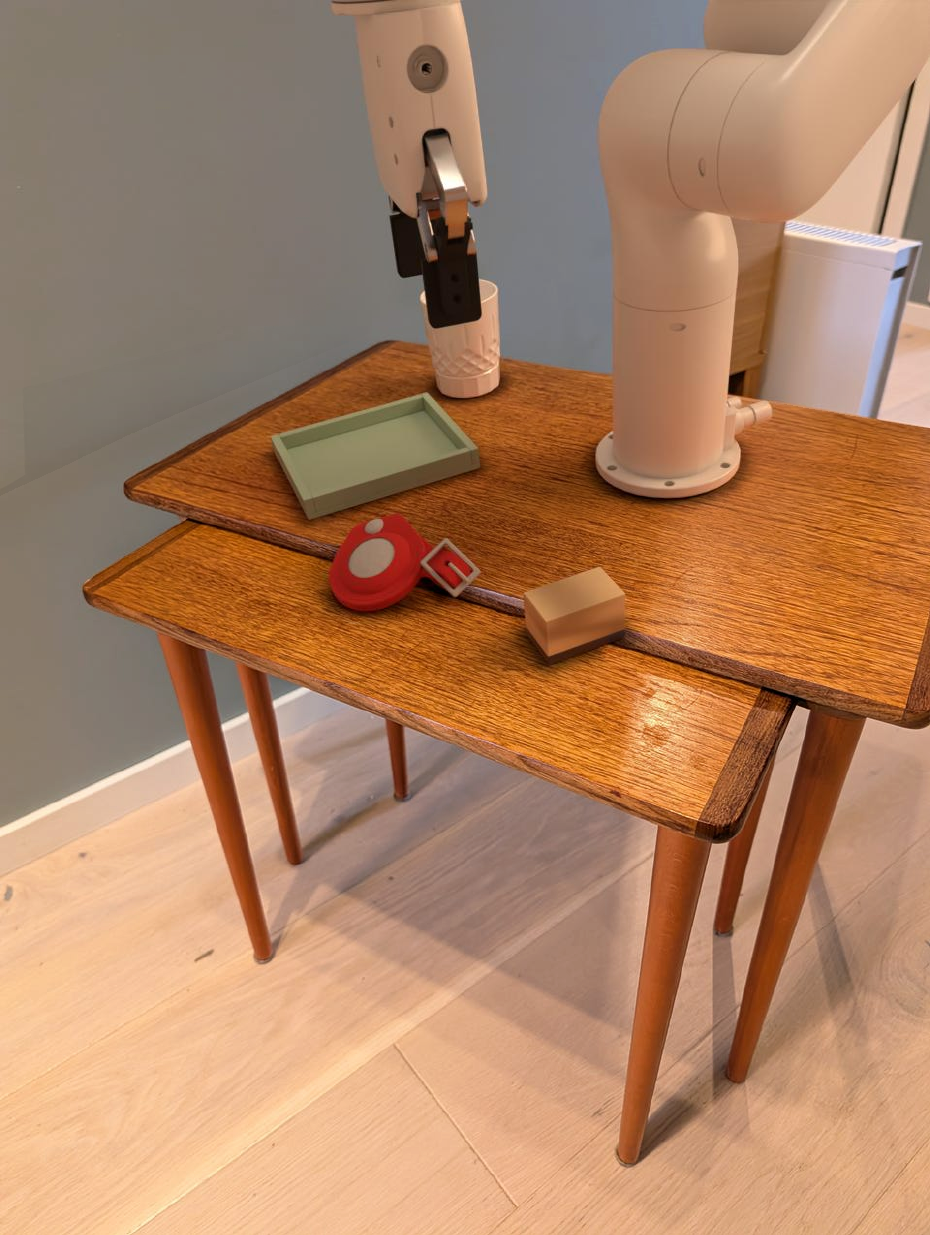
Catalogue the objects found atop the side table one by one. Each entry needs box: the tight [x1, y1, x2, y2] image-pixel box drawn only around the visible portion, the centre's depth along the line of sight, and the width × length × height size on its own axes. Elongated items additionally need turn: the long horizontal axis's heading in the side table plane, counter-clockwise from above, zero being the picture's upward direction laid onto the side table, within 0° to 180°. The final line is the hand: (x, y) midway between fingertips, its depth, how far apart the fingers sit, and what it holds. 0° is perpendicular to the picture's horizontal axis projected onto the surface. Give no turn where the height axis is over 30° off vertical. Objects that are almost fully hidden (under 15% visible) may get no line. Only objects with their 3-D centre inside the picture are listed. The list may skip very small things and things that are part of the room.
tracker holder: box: [328, 512, 482, 612], centre depth 70 cm, size 12×4×10 cm
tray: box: [270, 391, 481, 521], centre depth 86 cm, size 17×14×2 cm
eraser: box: [523, 566, 626, 666], centre depth 62 cm, size 6×4×4 cm, turn 112°
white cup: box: [419, 278, 501, 399], centre depth 94 cm, size 8×8×10 cm
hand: (437, 296), depth 58 cm, fingers open, 9 cm apart
